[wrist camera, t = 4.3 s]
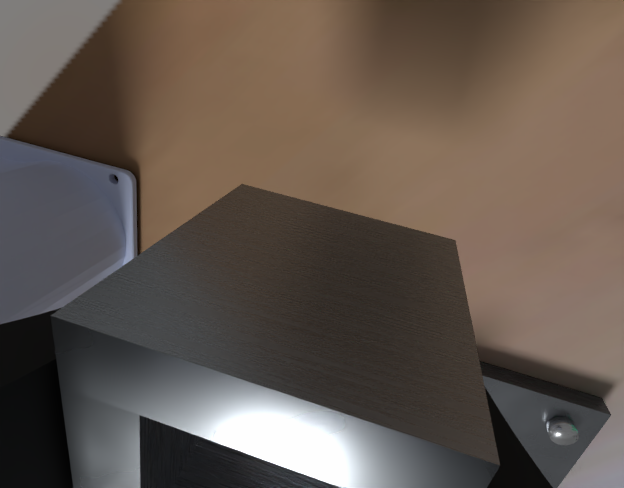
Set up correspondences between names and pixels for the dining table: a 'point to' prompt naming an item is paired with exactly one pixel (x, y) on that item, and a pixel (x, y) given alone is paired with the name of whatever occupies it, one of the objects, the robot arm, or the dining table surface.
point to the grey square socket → (277, 357)
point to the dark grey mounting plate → (546, 418)
